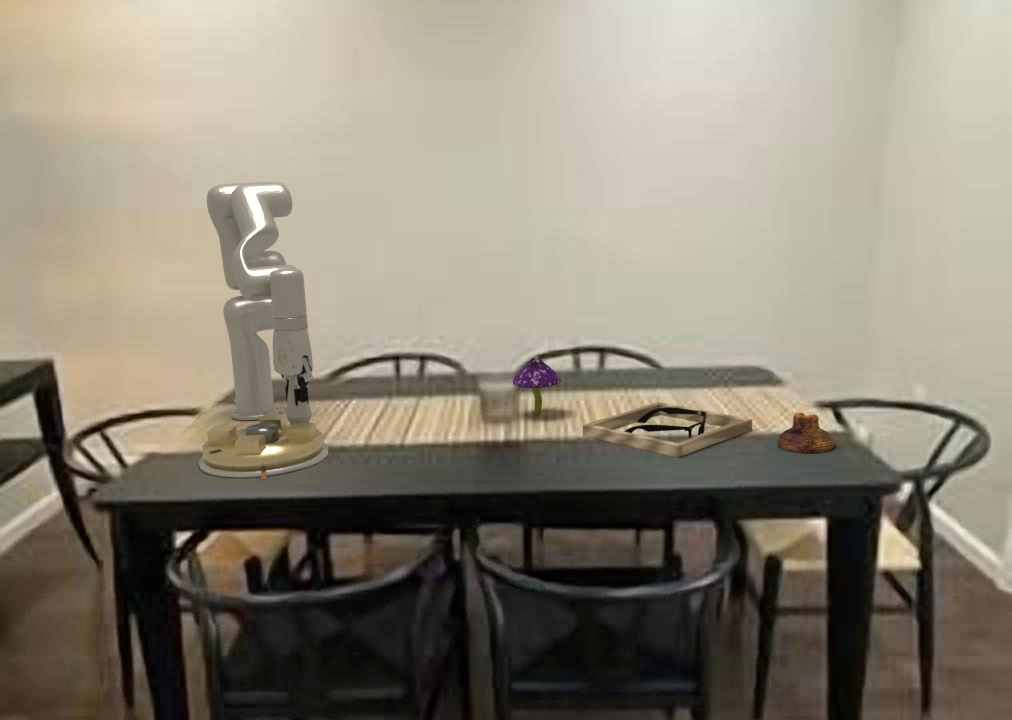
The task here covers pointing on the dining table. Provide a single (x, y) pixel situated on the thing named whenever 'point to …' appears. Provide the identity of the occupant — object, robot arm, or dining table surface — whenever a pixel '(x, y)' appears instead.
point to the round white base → (264, 473)
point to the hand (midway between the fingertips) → (297, 403)
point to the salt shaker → (296, 412)
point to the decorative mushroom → (536, 379)
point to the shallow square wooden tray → (607, 433)
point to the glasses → (667, 427)
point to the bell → (805, 436)
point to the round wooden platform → (262, 445)
